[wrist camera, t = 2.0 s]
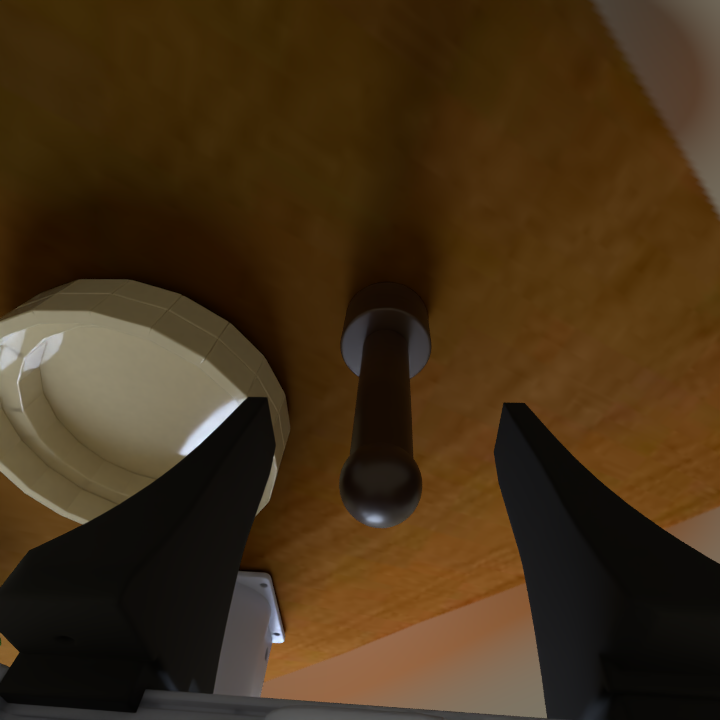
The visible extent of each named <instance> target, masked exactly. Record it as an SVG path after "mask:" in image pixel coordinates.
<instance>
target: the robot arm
mask: <svg viewBox="0 0 720 720" xmlns="http://www.w3.org/2000/svg"><path fill="white" fill-rule="evenodd" d="M275 448H276V442H275V436H274V431H273V425H272V420H271V414H270V408H269V403H268V397H248V398H246V399H245V400H244V401H243V402H242V403H241V404H240V405H239V406H238V407H237V408H236V409H235V410H234V411H233V412H232V413H231V414H230V415H229V416H228V417H227V418H226V419H225V420H224V421H223V422H222V423H221V424H220V425H219V426H218V427H217V428H216V429H215V430H214V431H213V432H212V433H211V434H210V435H209V436H208V437H207V438H206V439H205V440H204V441H203V442H202V443H201V444H199V445H198V446H197V447H196V448H195V449H194V450H193V451H192V452H190V453H189V454H188V455H187V456H186V457H185V458H184V459H182V460H181V461H180V462H179V463H178V464H176V465H175V466H174V467H172V468H171V469H170V470H169V471H167V472H166V473H165V474H163V475H162V476H161V477H159V478H158V479H156V480H155V481H154V482H152V483H151V484H149V485H148V486H147V487H145V488H143V489H142V490H140V491H139V492H137V493H136V494H134V495H133V496H131V497H130V498H128V499H126V500H125V501H123V502H122V503H120V504H119V505H117V506H115V507H114V508H112V509H110V510H108V511H107V512H105V513H103V514H102V515H100V516H98V517H96V518H94V519H92V520H91V521H89V522H87V523H85V524H83V525H81V526H79V527H77V528H75V529H73V530H72V531H69V532H67V533H65V534H63V535H61V536H59V537H57V538H55V539H53V540H51V541H48V542H46V543H44V544H42V545H40V546H38V547H36V548H33V549H31V550H29V551H28V553H27V554H26V555H25V556H24V558H23V559H22V560H21V561H20V563H19V564H18V565H17V567H16V568H15V569H14V571H13V572H12V573H11V574H10V576H9V577H8V578H7V580H6V581H5V582H4V584H3V585H2V586H1V588H0V632H1V633H2V634H3V635H4V637H5V638H6V639H7V640H8V641H9V642H10V643H11V644H12V645H13V646H14V647H15V648H16V649H17V650H18V651H19V652H20V653H19V654H18V656H17V657H16V659H15V660H14V662H13V664H12V665H11V667H8V666H6V665H3V664H1V663H0V720H720V564H719V563H717V562H715V561H713V560H712V559H710V558H708V557H706V556H705V555H703V554H702V553H700V552H698V551H697V550H695V549H694V548H692V547H690V546H689V545H687V544H685V543H684V542H682V541H680V540H679V539H677V538H676V537H674V536H673V535H671V534H670V533H668V532H667V531H665V530H664V529H662V528H661V527H659V526H658V525H656V524H655V523H654V522H652V521H651V520H649V519H648V518H646V517H645V516H644V515H642V514H641V513H639V512H638V511H637V510H635V509H634V508H633V507H631V506H630V505H629V504H627V503H626V502H625V501H624V500H622V499H621V498H620V497H619V496H617V495H616V494H615V493H614V492H612V491H611V490H610V489H609V488H608V487H606V486H605V485H604V484H603V483H602V482H601V481H599V480H598V479H597V478H596V477H595V476H594V475H593V474H592V473H591V472H589V471H588V470H587V469H586V468H585V467H584V466H583V465H582V464H581V463H580V462H579V461H578V460H577V459H576V458H575V457H574V456H573V455H572V454H571V453H570V452H569V451H568V450H567V449H566V448H565V447H564V446H563V445H562V444H561V443H560V442H559V441H558V440H557V439H556V437H555V436H554V435H553V434H552V433H551V432H550V431H549V430H548V429H547V428H546V426H545V425H544V424H543V423H542V422H541V421H540V420H539V419H538V417H537V416H536V415H535V414H534V413H533V412H532V411H531V410H530V408H529V407H528V406H527V405H526V404H525V403H503V408H502V414H501V419H500V424H499V429H498V434H497V439H496V444H495V449H494V456H495V463H496V469H497V475H498V481H499V485H500V489H501V492H502V496H503V499H504V503H505V506H506V509H507V513H508V516H509V519H510V523H511V526H512V529H513V533H514V536H515V539H516V543H517V546H518V550H519V553H520V557H521V561H522V565H523V570H524V575H525V580H526V585H527V591H528V596H529V602H530V607H531V613H532V619H533V624H534V630H535V636H536V643H537V649H538V656H539V662H540V669H541V675H542V683H543V690H544V698H545V705H546V713H547V718H532V717H520V716H506V715H492V714H479V713H465V712H451V711H438V710H424V709H410V708H397V707H383V706H369V705H356V704H342V703H327V702H315V701H301V700H287V699H273V698H260V695H261V690H262V686H263V682H264V677H265V672H266V668H267V663H268V659H269V654H270V649H271V645H272V643H282V642H284V640H285V633H284V629H283V625H282V621H281V616H280V612H279V608H278V604H277V600H276V596H275V592H274V587H273V583H272V579H271V576H270V575H269V574H268V573H264V572H247V571H239V567H240V563H241V559H242V555H243V551H244V548H245V545H246V541H247V538H248V535H249V532H250V530H251V527H252V524H253V521H254V518H255V516H256V513H257V510H258V507H259V504H260V502H261V499H262V496H263V493H264V490H265V487H266V484H267V482H268V479H269V476H270V472H271V467H272V463H273V458H274V453H275Z"/></svg>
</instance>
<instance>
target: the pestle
mask: <svg viewBox="0 0 720 720" xmlns="http://www.w3.org/2000/svg"><path fill="white" fill-rule="evenodd" d="M341 353H342V357H343V359H344V361H345V363H346V364H347V366H348V367H349V368H350V370H351V371H352V372H353V373H354V374H356V375H357V376H358V377H359V383H358V392H357V400H356V408H355V417H354V425H353V433H352V442H351V450H350V456H349V457H348V459H347V460H346V462H345V463H344V465H343V468H342V470H341V474H340V479H339V489H340V495H341V498H342V501H343V503H344V505H345V507H346V509H347V510H348V511H349V513H350V514H351V515H352V516H353V517H354V518H355V519H356V520H358V521H359V522H361V523H363V524H365V525H367V526H370V527H375V528H387V527H392V526H395V525H397V524H400V523H401V522H403V521H404V520H406V519H407V518H408V517H409V516H410V515H411V514H412V513H413V512H414V510H415V509H416V507H417V505H418V503H419V500H420V498H421V493H422V478H421V473H420V470H419V468H418V465H417V464H416V462H415V460H414V459H413V439H412V417H411V396H410V379H411V378H412V377H414V376H415V375H417V374H418V373H419V372H420V371H421V370H422V369H423V368H424V366H425V365H426V363H427V361H428V359H429V357H430V353H431V338H430V330H429V323H428V315H427V310H426V307H425V305H424V303H423V301H422V300H421V298H420V297H419V296H418V295H417V294H416V293H415V292H414V291H413V290H411V289H409V288H408V287H405V286H403V285H400V284H397V283H389V282H385V283H377V284H373V285H370V286H368V287H366V288H364V289H363V290H361V291H360V292H359V293H357V294H356V295H355V296H354V298H353V299H352V300H351V302H350V304H349V306H348V309H347V313H346V318H345V322H344V327H343V332H342V337H341Z"/></svg>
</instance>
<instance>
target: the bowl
mask: <svg viewBox="0 0 720 720" xmlns="http://www.w3.org/2000/svg"><path fill="white" fill-rule="evenodd" d="M248 397H268V403H269V408H270V414H271V420H272V425H273V431H274V436H275V442H276V448H275V453H274V458H273V463H272V467H271V472H270V476H269V479H268V482H267V484H266V487H265V490H264V493H263V496H262V499H261V502H260V504H259V507H258V510H257V513H256V515H257V514H258V513H259V512H260V511H261V510H262V509H263V508H264V506H265V505H266V504H267V503H268V502H269V500H270V498H271V495H272V491H273V488H274V484H275V481H276V478H277V474H278V471H279V467H280V464H281V461H282V457H283V454H284V450H285V447H286V443H287V439H288V436H289V432H290V422H289V415H288V409H287V402H286V395H285V393H284V391H283V389H282V387H281V386H280V384H279V382H278V380H277V378H276V376H275V375H274V373H273V371H272V369H271V367H270V365H269V364H268V362H267V360H266V358H264V355H263V354H262V353H261V352H260V351H258V350H257V349H256V348H255V347H254V346H253V345H252V344H251V343H250V342H249V341H248V340H247V339H246V338H245V337H244V336H243V335H242V334H241V333H240V332H239V331H238V330H237V329H236V328H235V327H234V326H233V325H232V324H231V323H229V322H228V321H227V320H225V319H223V318H222V317H220V316H218V315H216V314H215V313H213V312H211V311H210V310H208V309H206V308H204V307H203V306H201V305H199V304H198V303H196V302H194V301H193V300H191V299H189V298H187V297H186V296H182V294H179V293H175V292H172V291H169V290H165V289H162V288H158V287H155V286H151V285H148V284H144V283H141V282H137V281H134V280H129V279H78V280H75V281H72V282H70V283H67V284H64V285H61V286H59V287H56V288H53V289H50V290H48V291H45V292H42V293H40V294H38V295H36V296H35V297H33V298H32V299H30V300H28V301H27V302H25V303H24V304H22V305H20V306H19V307H17V308H16V309H14V310H12V311H11V312H9V313H8V314H6V315H4V316H3V317H1V318H0V471H1V472H2V473H3V474H4V475H5V476H6V477H7V478H8V479H10V480H11V481H12V482H13V483H14V484H15V485H16V486H17V487H18V488H19V489H21V490H22V491H23V492H24V493H25V494H27V495H29V496H30V497H32V498H34V499H35V500H37V501H38V502H40V503H42V504H43V505H45V506H47V507H48V508H50V509H51V510H53V511H55V512H56V513H58V514H60V515H62V516H64V517H66V518H69V519H71V520H74V521H76V522H79V523H81V524H85V523H87V522H89V521H91V520H92V519H94V518H96V517H98V516H100V515H102V514H103V513H105V512H107V511H108V510H110V509H112V508H114V507H115V506H117V505H119V504H120V503H122V502H123V501H125V500H126V499H128V498H130V497H131V496H133V495H134V494H136V493H137V492H139V491H140V490H142V489H143V488H145V487H147V486H148V485H149V484H151V483H152V482H154V481H155V480H156V479H158V478H159V477H161V476H162V475H163V474H165V473H166V472H167V471H169V470H170V469H171V468H172V467H174V466H175V465H176V464H178V463H179V462H180V461H181V460H182V459H184V458H185V457H186V456H187V455H188V454H189V453H190V452H192V451H193V450H194V449H195V448H196V447H197V446H198V445H199V444H201V443H202V442H203V441H204V440H205V439H206V438H207V437H208V436H209V435H210V434H211V433H212V432H213V431H214V430H215V429H216V428H217V427H218V426H219V425H220V424H221V423H222V422H223V421H224V420H225V419H226V418H227V417H228V416H229V415H230V414H231V413H232V412H233V411H234V410H235V409H236V408H237V407H238V406H239V405H240V404H241V403H242V402H243V401H244V400H245V399H246V398H248Z"/></svg>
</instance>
